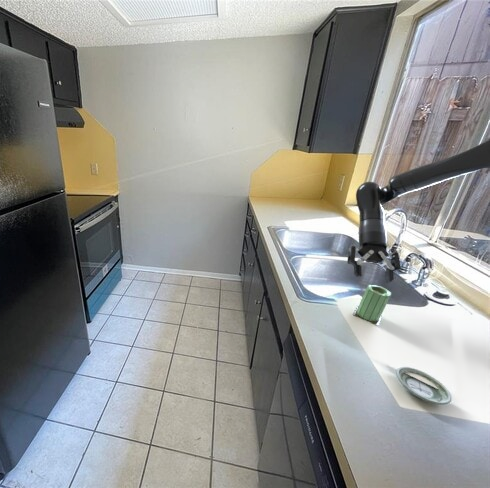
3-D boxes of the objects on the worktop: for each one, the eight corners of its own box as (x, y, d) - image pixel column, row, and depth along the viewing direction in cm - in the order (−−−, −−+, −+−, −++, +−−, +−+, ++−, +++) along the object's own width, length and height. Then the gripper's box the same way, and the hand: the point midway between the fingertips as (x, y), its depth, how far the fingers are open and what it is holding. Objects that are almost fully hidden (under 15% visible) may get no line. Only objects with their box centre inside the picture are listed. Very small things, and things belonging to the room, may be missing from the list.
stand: (380, 319, 85) (393, 292, 81) (376, 329, 80) (390, 301, 76) (355, 309, 89) (366, 283, 85) (350, 318, 85) (362, 291, 80)
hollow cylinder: (379, 315, 84) (392, 290, 80) (377, 324, 80) (390, 298, 76) (358, 307, 88) (369, 282, 84) (354, 315, 84) (365, 289, 80)
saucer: (435, 382, 64) (439, 375, 63) (455, 418, 56) (461, 411, 55) (387, 367, 67) (391, 360, 66) (400, 398, 59) (404, 391, 58)
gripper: (354, 227, 88) (354, 272, 82) (403, 233, 84) (407, 281, 79) (344, 236, 95) (343, 278, 89) (389, 242, 91) (391, 286, 86)
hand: (373, 279), depth 84 cm, fingers open, 8 cm apart
